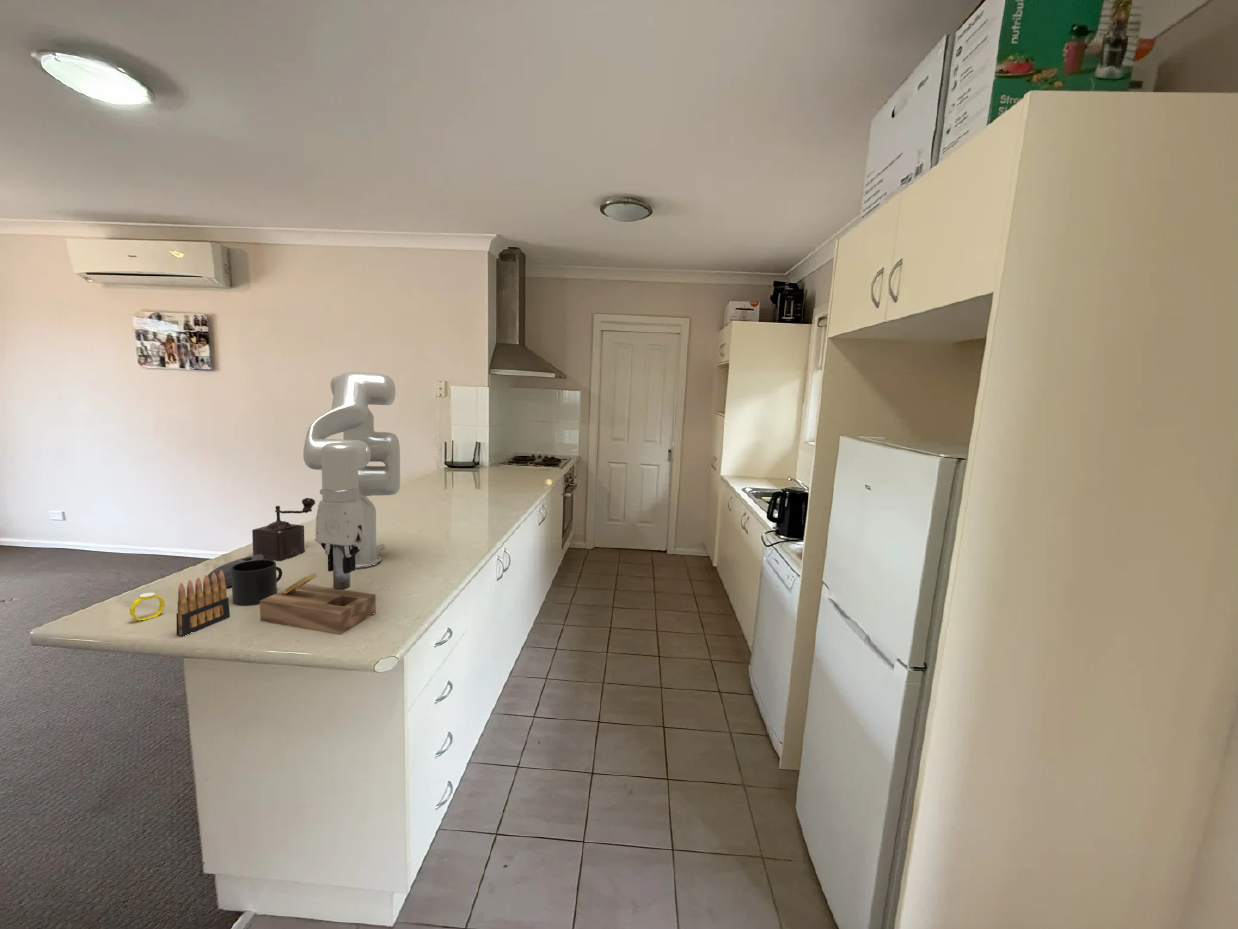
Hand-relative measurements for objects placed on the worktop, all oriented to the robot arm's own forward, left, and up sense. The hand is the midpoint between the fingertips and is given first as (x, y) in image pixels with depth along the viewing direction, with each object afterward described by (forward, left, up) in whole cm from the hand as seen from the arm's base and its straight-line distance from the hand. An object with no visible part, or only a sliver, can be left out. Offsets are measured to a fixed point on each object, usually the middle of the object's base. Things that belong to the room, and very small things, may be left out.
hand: (341, 570), depth 120 cm
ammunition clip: (+12, -27, -13) cm, 32 cm away
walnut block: (0, -7, -13) cm, 14 cm away
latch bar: (0, -12, -6) cm, 13 cm away
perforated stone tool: (-10, -43, -13) cm, 46 cm away
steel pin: (0, 0, -4) cm, 4 cm away
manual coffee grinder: (-36, -53, -13) cm, 65 cm away
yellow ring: (+13, -42, -13) cm, 46 cm away
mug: (-5, -30, -13) cm, 33 cm away
